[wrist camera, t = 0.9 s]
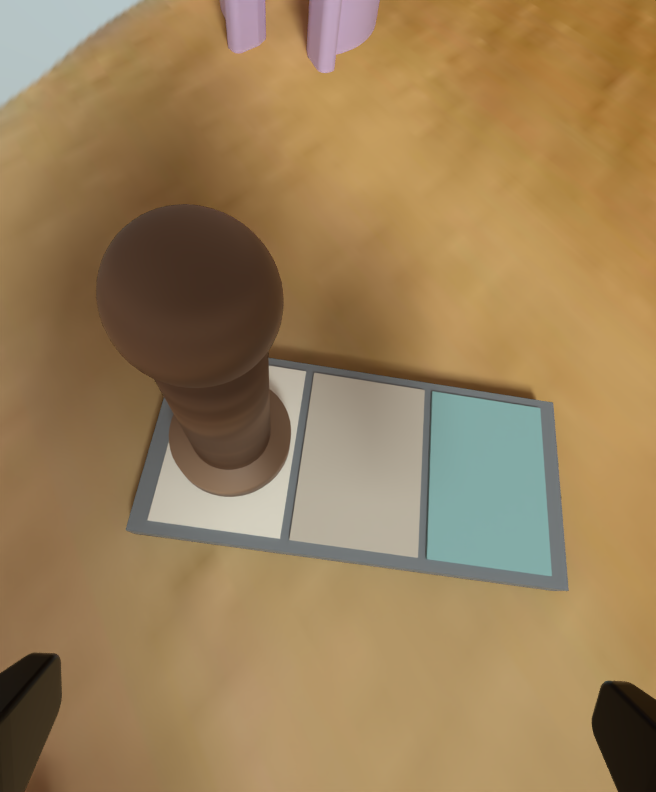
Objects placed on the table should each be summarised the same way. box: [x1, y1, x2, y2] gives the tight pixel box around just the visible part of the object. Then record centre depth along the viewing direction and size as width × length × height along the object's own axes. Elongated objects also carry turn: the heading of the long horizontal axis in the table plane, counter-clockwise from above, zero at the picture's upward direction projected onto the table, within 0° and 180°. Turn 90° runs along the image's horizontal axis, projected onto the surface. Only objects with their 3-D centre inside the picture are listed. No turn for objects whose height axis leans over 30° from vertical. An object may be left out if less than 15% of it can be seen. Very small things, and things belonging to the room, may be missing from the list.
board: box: [126, 358, 569, 591], centre depth 22 cm, size 19×9×1 cm, turn 83°
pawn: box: [96, 204, 291, 497], centre depth 15 cm, size 5×5×13 cm
